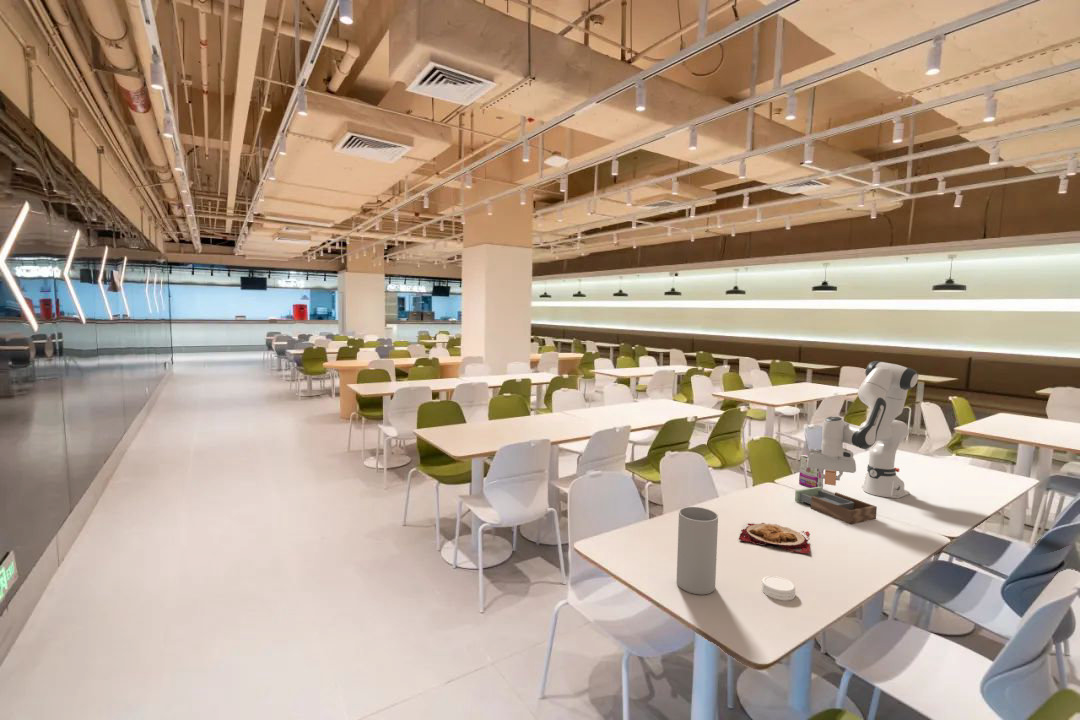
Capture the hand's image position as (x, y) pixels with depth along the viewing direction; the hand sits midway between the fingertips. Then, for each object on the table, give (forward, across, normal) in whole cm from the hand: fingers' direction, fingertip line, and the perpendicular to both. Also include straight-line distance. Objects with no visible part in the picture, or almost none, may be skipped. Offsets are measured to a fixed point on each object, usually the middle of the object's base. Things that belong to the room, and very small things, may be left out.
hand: (830, 479), depth 238 cm
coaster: (+16, -22, -94) cm, 98 cm away
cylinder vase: (+15, -47, -102) cm, 114 cm away
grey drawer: (+14, -2, +1) cm, 14 cm away
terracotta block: (+2, 0, 0) cm, 2 cm away
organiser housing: (+14, +5, -5) cm, 16 cm away
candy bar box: (+14, -6, +33) cm, 36 cm away
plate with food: (+16, -23, -48) cm, 55 cm away
